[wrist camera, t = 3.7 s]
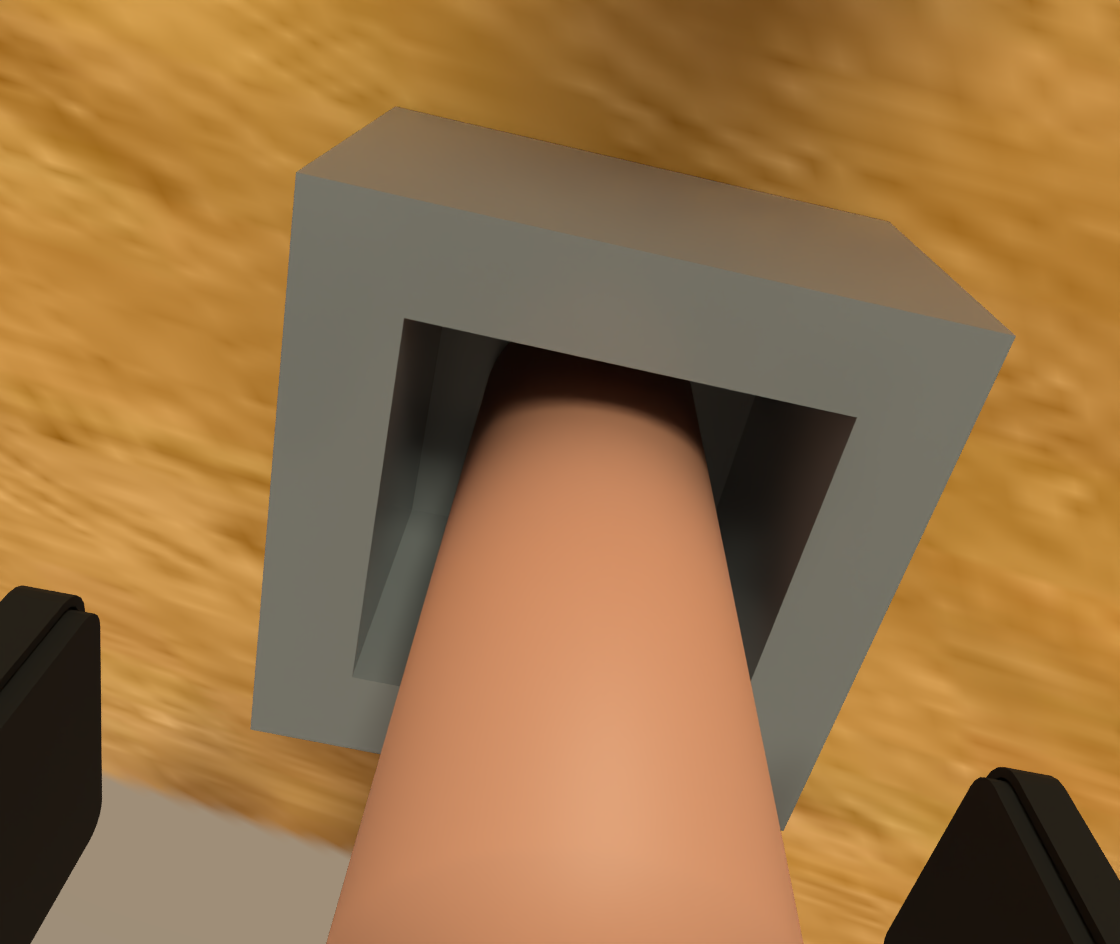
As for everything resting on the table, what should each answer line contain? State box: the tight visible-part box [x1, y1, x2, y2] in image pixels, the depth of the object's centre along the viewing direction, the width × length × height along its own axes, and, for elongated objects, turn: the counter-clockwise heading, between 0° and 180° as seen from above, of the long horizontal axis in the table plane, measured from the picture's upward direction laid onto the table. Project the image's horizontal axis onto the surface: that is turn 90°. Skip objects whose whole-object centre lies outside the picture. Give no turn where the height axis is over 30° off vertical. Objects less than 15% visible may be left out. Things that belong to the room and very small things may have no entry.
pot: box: [251, 107, 1016, 831], centre depth 16 cm, size 9×9×6 cm
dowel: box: [326, 341, 803, 944], centre depth 13 cm, size 4×4×12 cm
